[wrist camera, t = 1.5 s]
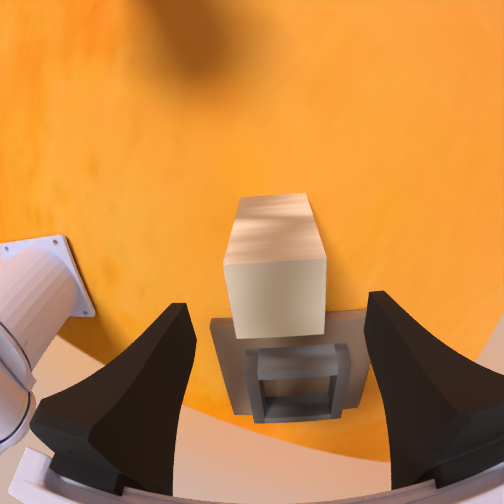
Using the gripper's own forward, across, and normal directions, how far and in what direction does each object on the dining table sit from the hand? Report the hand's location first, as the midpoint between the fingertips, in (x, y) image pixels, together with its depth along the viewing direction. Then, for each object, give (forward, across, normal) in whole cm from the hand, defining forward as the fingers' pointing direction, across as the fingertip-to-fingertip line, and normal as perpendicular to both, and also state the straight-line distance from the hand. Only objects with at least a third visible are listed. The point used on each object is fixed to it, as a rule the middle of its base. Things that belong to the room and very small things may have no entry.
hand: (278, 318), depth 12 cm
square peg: (+9, 0, 0) cm, 9 cm away
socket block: (+9, -1, +14) cm, 17 cm away
